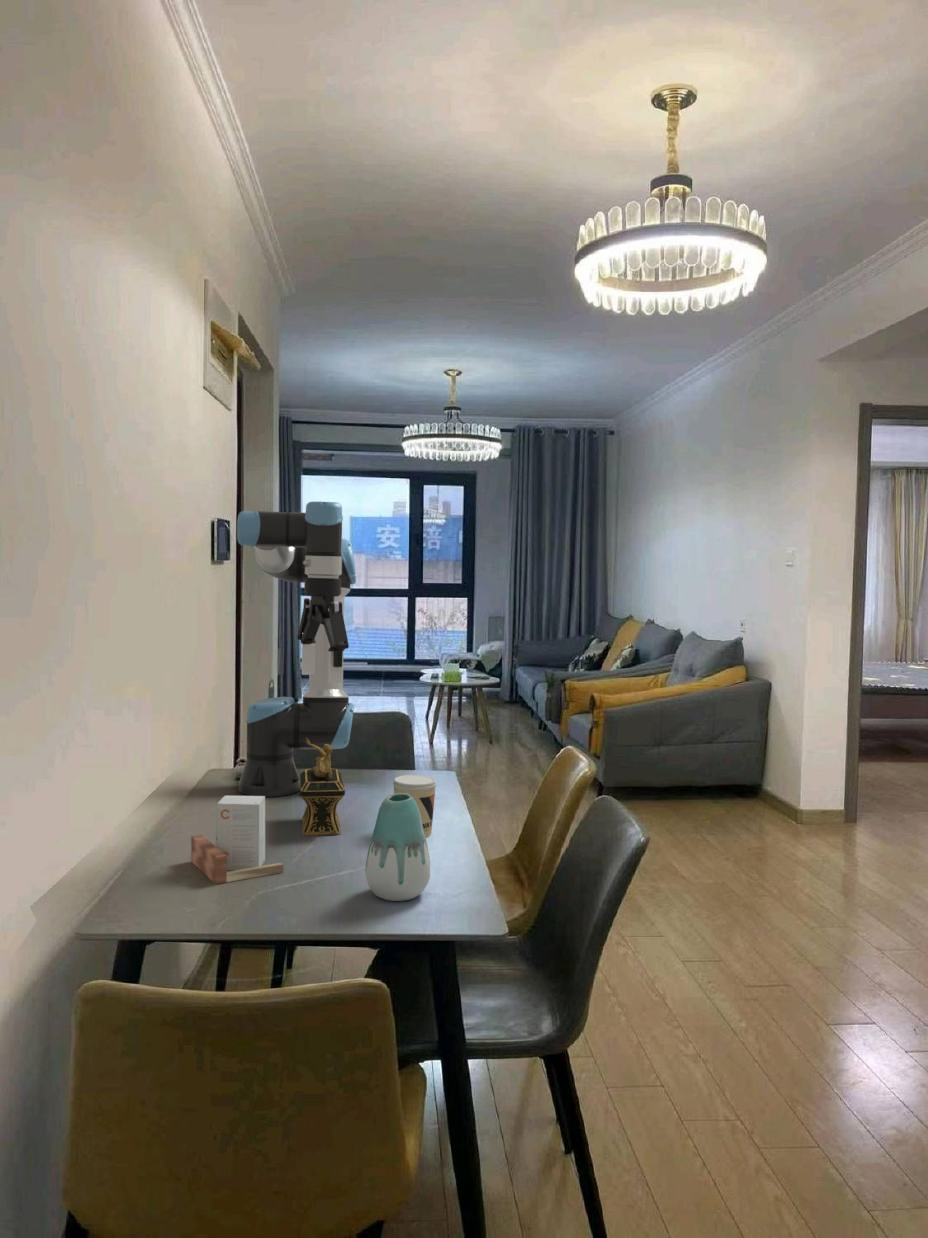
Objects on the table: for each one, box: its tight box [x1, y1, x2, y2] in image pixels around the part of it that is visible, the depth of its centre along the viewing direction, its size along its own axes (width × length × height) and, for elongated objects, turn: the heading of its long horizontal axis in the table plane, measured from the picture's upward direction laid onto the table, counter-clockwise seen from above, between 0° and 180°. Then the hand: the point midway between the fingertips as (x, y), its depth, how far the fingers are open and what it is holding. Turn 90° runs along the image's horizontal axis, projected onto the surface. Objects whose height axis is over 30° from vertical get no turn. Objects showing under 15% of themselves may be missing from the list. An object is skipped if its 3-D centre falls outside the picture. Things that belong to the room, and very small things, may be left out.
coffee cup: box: [392, 774, 437, 839], centre depth 202 cm, size 9×9×12 cm
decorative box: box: [299, 738, 346, 837], centre depth 203 cm, size 20×10×20 cm, turn 10°
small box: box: [216, 795, 266, 872], centre depth 178 cm, size 8×6×13 cm
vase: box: [364, 793, 431, 902], centre depth 165 cm, size 12×12×18 cm
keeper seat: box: [190, 834, 284, 885], centre depth 178 cm, size 14×13×5 cm
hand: (321, 678), depth 194 cm, fingers open, 13 cm apart
